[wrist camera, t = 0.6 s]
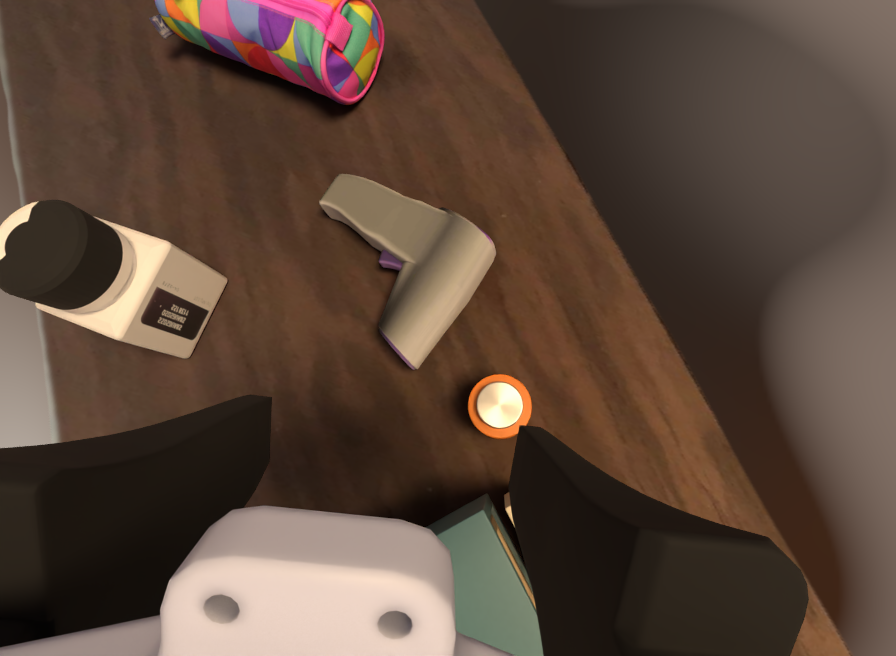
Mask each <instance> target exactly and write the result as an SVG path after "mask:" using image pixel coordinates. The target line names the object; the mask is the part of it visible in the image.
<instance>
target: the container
mask: <svg viewBox="0 0 896 656" xmlns="http://www.w3.org/2000/svg"><path fill="white" fill-rule="evenodd" d="M227 281H228V280H227V278H226V277H225V276H223V275H222V274H220V273H218V272H217V271H215V270H213V269H212V268H210V267H209V266H207V265H205V264H204V263H202V262H201V261H199V260H197V259H196V258H194V257H192V256H191V255H189V254H188V253H186V252H184V251H183V250H181V249H179V248H178V247H176V246H175V245H173V244H171V243H170V242H168V241H165V240H162V239H159V238H156V237H153V236H150V235H147V234H144V233H141V232H138V231H135V230H132V229H129V228H126V227H123V226H120V225H117V224H114V223H112V222H109V221H106V220H103V219H100V218H97V217H94V216H91V215H90V214H88V213H86V212H84V211H82V210H81V209H79V208H77V207H75V206H74V205H72V204H70V203H68V202H65V201H60V200H46V201H38V202H35V203H31V204H29V205H26V206H24V207H22V208H20V209H19V210H17V211H16V212H14V213H13V214H12V215H10V216H9V217H8V218H7V219H6V221H4V222H3V224H2V225H1V226H0V288H1V289H2V290H3V291H5V292H7V293H8V294H10V295H14V296H17V297H20V298H23V299H26V300H30V301H33V302H36V303H35V304H36V307H37V308H38V309H40V310H43V311H45V312H48V313H50V314H53V315H55V316H58V317H60V318H63V319H65V320H68V321H70V322H73V323H75V324H78V325H80V326H83V327H85V328H88V329H90V330H93V331H95V332H98V333H100V334H103V335H105V336H108V337H110V338H113V339H115V340H119V341H122V342H126V343H129V344H133V345H137V346H140V347H144V348H147V349H151V350H155V351H158V352H162V353H166V354H169V355H173V356H176V357H180V358H184V359H187V358H189V357H190V356H191V354H192V352H193V350H194V348H195V346H196V344H197V342H198V340H199V338H200V336H201V334H202V332H203V330H204V328H205V326H206V324H207V322H208V320H209V318H210V316H211V314H212V312H213V310H214V308H215V306H216V304H217V302H218V300H219V298H220V296H221V294H222V292H223V290H224V288H225V286H226V284H227Z"/></svg>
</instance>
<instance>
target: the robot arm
mask: <svg viewBox="0 0 896 656" xmlns="http://www.w3.org/2000/svg"><path fill="white" fill-rule="evenodd" d="M271 406H272V397H266V396H257V395H246V396H242V397H238V398H235V399H232V400H229V401H226V402H223V403H220V404H217V405H214V406H211V407H208V408H205V409H202V410H200V411H197V412H194V413H191V414H187V415H184V416H181V417H178V418H175V419H171V420H168V421H165V422H162V423H158V424H155V425H151V426H147V427H143V428H139V429H135V430H131V431H126V432H122V433H117V434H112V435H107V436H101V437H95V438H89V439H82V440H76V441H70V442H63V443H55V444H47V445H37V446H25V447H13V448H0V656H515V655H513V654H510V653H508V652H505V651H503V650H500V649H498V648H496V647H493V646H491V645H488V644H486V643H483V642H481V641H478V640H476V639H473V638H471V637H469V636H466V635H464V634H461V633H459V632H458V631H457V630H456V621H455V593H454V574H453V568H452V561H451V555H450V550H449V549H448V548H447V547H446V546H445V545H444V544H443V543H442V542H441V541H440V539H439V538H438V537H437V536H436V535H435V534H434V533H433V532H432V531H431V530H430V529H427V528H424V527H422V526H419V525H416V524H413V523H410V522H407V521H404V520H401V519H392V518H383V517H373V516H363V515H353V514H343V513H333V512H323V511H314V510H304V509H294V508H284V507H274V506H257V507H249V508H243V507H244V506H245V504H246V503H247V502H248V500H249V499H250V497H251V496H252V494H253V493H254V491H255V490H256V488H257V486H258V484H259V482H260V480H261V478H262V476H263V474H264V472H265V470H266V468H267V465H268V463H269V459H270V433H271ZM509 496H510V504H511V512H512V518H513V522H514V525H515V529H516V533H517V537H518V540H519V544H520V547H521V551H522V555H523V558H524V562H525V565H526V569H527V572H528V576H529V580H530V583H531V587H532V591H533V596H534V600H535V605H536V611H537V617H538V623H539V630H540V636H541V642H542V649H543V656H790V654H791V652H792V649H793V646H794V644H795V641H796V639H797V636H798V633H799V631H800V628H801V626H802V623H803V620H804V617H805V613H806V608H807V604H808V600H809V599H808V589H807V583H806V581H805V579H804V576H803V574H802V572H801V570H800V569H799V568H798V567H797V566H796V565H795V564H794V563H793V562H792V561H791V560H790V559H789V558H788V557H787V556H786V555H785V554H784V553H783V552H782V551H781V550H780V549H779V548H778V547H777V546H776V545H775V544H774V542H773V541H772V540H771V539H770V538H768V537H766V536H762V535H758V534H754V533H751V532H747V531H743V530H740V529H736V528H732V527H729V526H725V525H721V524H718V523H715V522H712V521H709V520H706V519H703V518H700V517H698V516H695V515H692V514H689V513H686V512H684V511H681V510H679V509H676V508H673V507H671V506H669V505H667V504H664V503H662V502H660V501H657V500H655V499H653V498H651V497H648V496H646V495H644V494H642V493H640V492H638V491H636V490H634V489H633V488H631V487H629V486H627V485H625V484H623V483H621V482H620V481H618V480H616V479H614V478H613V477H611V476H609V475H608V474H606V473H605V472H603V471H602V470H600V469H599V468H597V467H596V466H594V465H592V464H591V463H590V462H588V461H587V460H585V459H584V458H582V457H581V456H580V455H578V454H577V453H576V452H574V451H573V450H572V449H570V448H569V447H568V446H566V445H565V444H564V443H562V442H561V441H560V440H558V439H557V438H556V437H554V436H553V435H552V434H550V433H549V432H547V431H546V430H544V429H543V428H541V427H533V426H525V425H519V431H518V437H517V442H516V448H515V453H514V459H513V464H512V470H511V475H510V481H509Z"/></svg>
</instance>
